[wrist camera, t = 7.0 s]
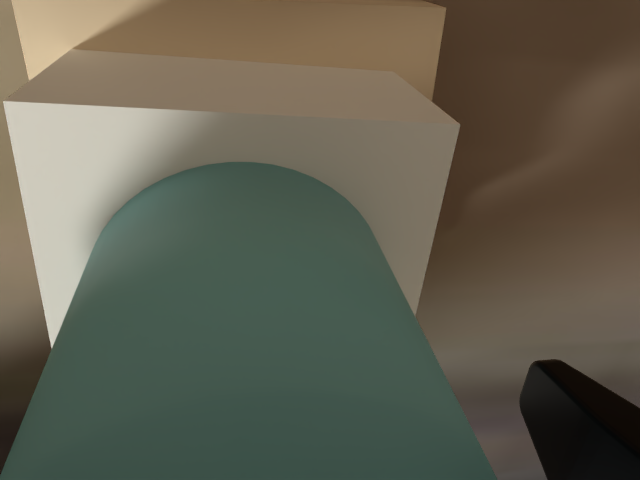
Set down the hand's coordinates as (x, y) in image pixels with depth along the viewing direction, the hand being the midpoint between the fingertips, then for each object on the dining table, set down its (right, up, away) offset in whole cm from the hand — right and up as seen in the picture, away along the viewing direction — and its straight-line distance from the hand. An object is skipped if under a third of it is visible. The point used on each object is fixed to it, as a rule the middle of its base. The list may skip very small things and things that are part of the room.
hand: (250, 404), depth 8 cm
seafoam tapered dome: (0, +1, +2) cm, 3 cm away
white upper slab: (-1, +3, +5) cm, 7 cm away
